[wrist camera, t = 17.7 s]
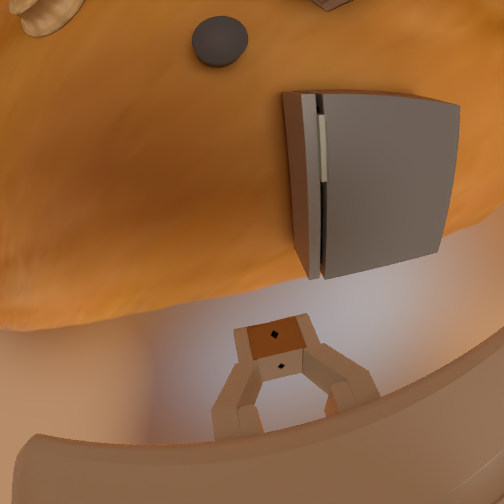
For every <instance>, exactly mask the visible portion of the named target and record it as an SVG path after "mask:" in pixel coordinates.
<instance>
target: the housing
mask: <svg viewBox="0 0 504 504" xmlns="http://www.w3.org/2000/svg"><path fill="white" fill-rule="evenodd" d="M294 92H302V93H312V94H315V99H316V106H318V107H319V113H317V126H318V143H319V165H320V181H321V182H322V199H323V228H322V241H321V242H320V271H321V273H322V275H323V277H324V279H325V280H326V279H331V278H335V277H340V276H344V275H348V274H353V273H357V272H362V271H366V270H370V269H374V268H378V267H383V266H387V265H391V264H395V263H398V262H403V261H406V260H410V259H414V258H418V257H422V256H425V255H429V254H433V253H436V252H438V249H439V245H440V242H441V238H442V234H443V230H444V226H445V222H446V217H447V213H448V208H449V203H450V198H451V193H452V187H453V181H454V174H455V167H456V159H457V150H458V138H459V123H460V106H459V105H456V104H452V103H448V102H444V101H440V100H436V99H432V98H427V97H422V96H417V95H411V94H402V93H392V92H380V91H363V90H305V91H294Z"/></svg>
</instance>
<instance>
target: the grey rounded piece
mask: <svg viewBox="0 0 504 504" xmlns="http://www.w3.org/2000/svg"><path fill="white" fill-rule="evenodd" d="M247 43H248V34H247V31H246V29H245V27H244V26H243V25H242V24H241V23H240V22H239V21H238V20H236V19H234V18H231V17H227V16H216V17H211V18H209V19H206V20H205V21H203V22H202V23H200V24H199V25H198V27H197V28H196V29H195V31H194V33H193V37H192V45H193V48H194V50H195V52H196V54H197V56H198V58H199V59H200V60H201V61H202V62H203V63H204V64H206V65H208V66H211V67H224V66H228V65H230V64H232V63H233V62H235V61H236V60H237V59H238V58H239V56H240V55H241V54H242V53H243V52H244V50H245V49H246V46H247Z"/></svg>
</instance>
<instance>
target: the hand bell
mask: <svg viewBox="0 0 504 504" xmlns="http://www.w3.org/2000/svg"><path fill="white" fill-rule="evenodd" d="M83 2H84V0H9V10H10V12H11V13H12V14H15V15H17V16H19V17H21V23H22V27H23V29H24V31H25V32H26V33H27V34H28V35H30V36H32V37H43V36H46V35H49V34H51V33H53V32H55V31H57V30H59V29H60V28H61V27H62V26H64V25H65V24H66V23H67V22H68V21H69V20H70V19H71V18H72V17H73V16H74V15H75V14H76V13H77V11H78V10H79V9H80V7H81V6H82V4H83Z"/></svg>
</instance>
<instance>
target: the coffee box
mask: <svg viewBox="0 0 504 504" xmlns="http://www.w3.org/2000/svg"><path fill="white" fill-rule="evenodd" d="M312 1H314V2H315V3H316V4H317V5H319V6H320V7H321V8H323V9H324V10H325V11H331V10H333V9H335V8H337V7H339V6H341V5H343V4H346V3H348V2H350V1H353V0H312Z"/></svg>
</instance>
